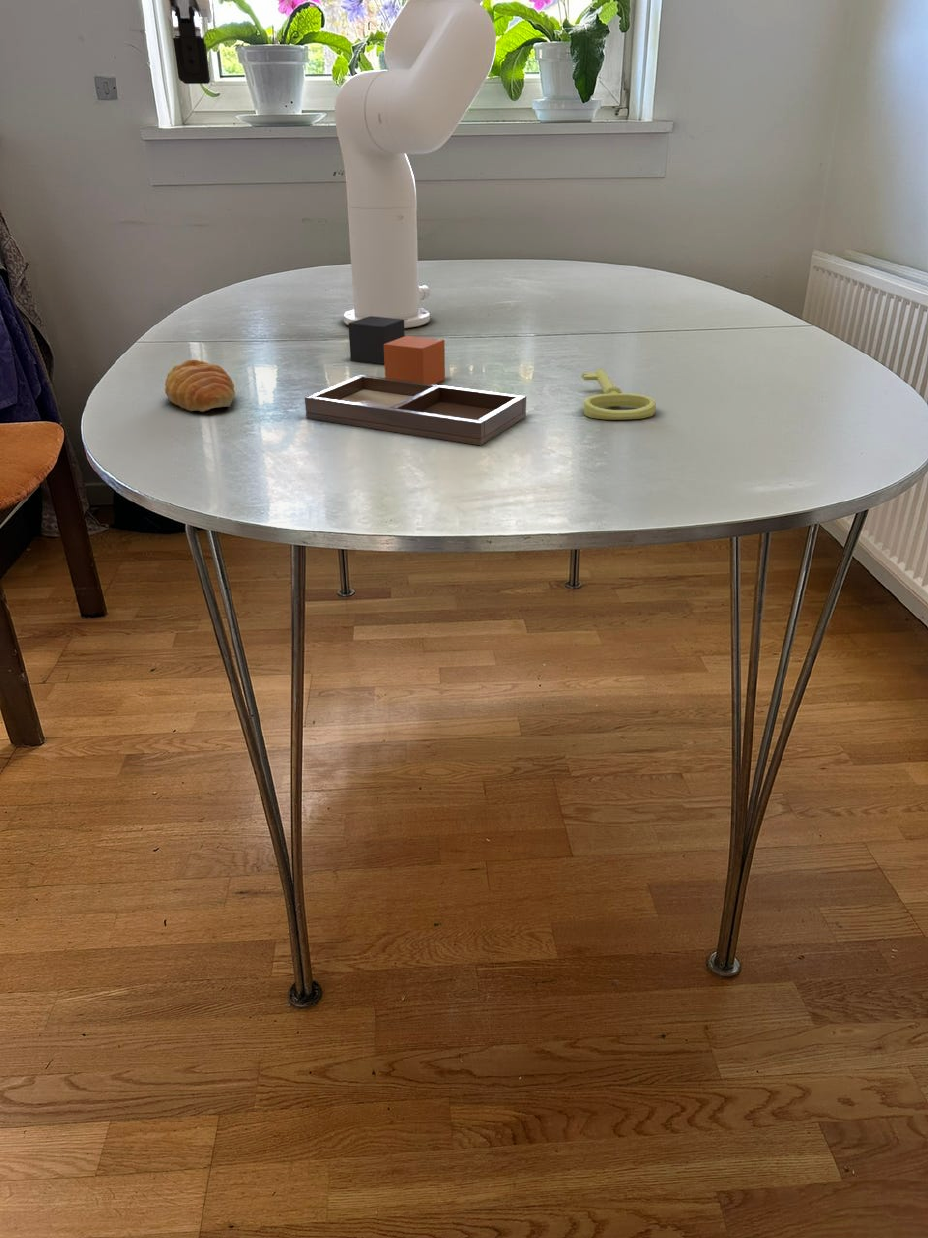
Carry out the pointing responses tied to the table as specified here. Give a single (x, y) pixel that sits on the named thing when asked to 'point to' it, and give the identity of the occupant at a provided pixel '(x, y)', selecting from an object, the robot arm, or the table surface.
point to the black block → (373, 337)
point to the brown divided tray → (417, 408)
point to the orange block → (415, 359)
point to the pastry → (199, 386)
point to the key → (615, 401)
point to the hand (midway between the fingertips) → (195, 82)
